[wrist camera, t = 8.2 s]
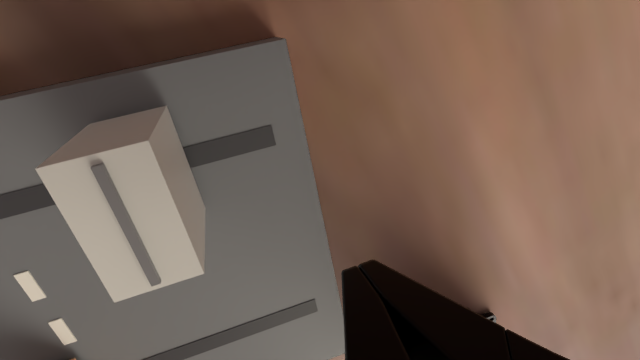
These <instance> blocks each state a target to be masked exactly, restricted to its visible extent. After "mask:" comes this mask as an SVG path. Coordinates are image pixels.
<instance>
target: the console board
mask: <svg viewBox="0 0 640 360" xmlns="http://www.w3.org/2000/svg"><path fill="white" fill-rule="evenodd" d="M163 106H167V108H168V110H169V113H170V116H171V118H172V121H173V124H174V126H175V129H176V132H177V134H178V137H179V140H180V142H181V145H182V147H183V150H184V153H185V155H186V158H187V161H188V163H189V166H190V169H191V171H192V174H193V177H194V179H195V182H196V185H197V187H198V190H199V193H200V195H201V198H202V201H203V203H204V206H205V208H206V209H205V260H204V274H202V275H199V276H196V277H193V278H189V279H186V280H183V281H180V282H177V283H174V284H171V285H168V286H165V287H162V288H158V289H155V290H152V291H149V292H146V293H143V294H140V295H137V296H134V297H131V298H127V299H124V300H121V301H118V302H115V303H114V301H113V300H112V298H111V296H110V295H109V293H108V291H107V290H106V288H105V286H104V285H103V283H102V281H101V280H100V278H99V276H98V274H97V273H96V271H95V269H94V268H93V266H92V264H91V263H90V261H89V259H88V258H87V256H86V254H85V253H84V251H83V249H82V247H81V246H80V244H79V242H78V241H77V239H76V237H75V236H74V234H73V232H72V231H71V229H70V227H69V225H68V224H67V222H66V220H65V219H64V217H63V215H62V214H61V212H60V210H59V209H58V207H57V205H56V204H55V202H54V200H53V198H52V197H51V195H50V193H49V192H48V190H47V188H46V187H45V185H44V183H43V182H42V180H41V178H40V176H39V175H38V173H37V171H36V170H35V168H37V167H38V166H39V165H40V164H41V163H43V162H44V161H45V160H46V159H47V158H49V157H50V156H51V155H52V154H53V153H55V152H56V151H57V150H58V149H60V148H61V147H62V146H63V145H64V144H66V143H67V142H68V141H69V140H70V139H72V138H73V137H74V136H75V135H76V134H78V133H79V132H80V131H81V130H82V129H84V128H85V127H86V126H87V125H89V124H91V123H95V122H99V121H103V120H108V119H112V118H116V117H120V116H124V115H129V114H133V113H137V112H141V111H146V110H150V109H154V108H158V107H163ZM344 353H345V342H344V319H343V311H342V307H341V302H340V297H339V292H338V287H337V283H336V278H335V273H334V268H333V263H332V259H331V254H330V249H329V244H328V239H327V235H326V230H325V225H324V220H323V215H322V211H321V206H320V201H319V196H318V192H317V187H316V182H315V177H314V172H313V168H312V163H311V158H310V153H309V148H308V144H307V139H306V134H305V129H304V124H303V120H302V115H301V110H300V105H299V100H298V96H297V91H296V86H295V81H294V76H293V72H292V67H291V62H290V57H289V52H288V48H287V43H286V39H284V38H279V37H273V38H269V39H264V40H259V41H255V42H250V43H246V44H241V45H236V46H232V47H227V48H222V49H218V50H213V51H208V52H204V53H199V54H194V55H190V56H185V57H180V58H176V59H171V60H166V61H162V62H157V63H152V64H148V65H143V66H138V67H134V68H129V69H124V70H120V71H115V72H110V73H106V74H101V75H96V76H92V77H87V78H83V79H78V80H73V81H69V82H64V83H59V84H55V85H50V86H45V87H41V88H36V89H31V90H27V91H22V92H17V93H13V94H8V95H3V96H0V360H70V359H73V358H76V360H329V359H332V358H334V357H337V356H339V355H342V354H344Z"/></svg>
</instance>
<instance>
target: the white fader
mask: <svg viewBox="0 0 640 360" xmlns="http://www.w3.org/2000/svg"><path fill="white" fill-rule="evenodd" d="M35 170H36V171H37V173H38V175H39V176H40V178H41V180H42V182H43V183H44V185H45V187H46V188H47V190H48V192H49V193H50V195H51V197H52V198H53V200H54V202H55V204H56V205H57V207H58V209H59V210H60V212H61V214H62V215H63V217H64V219H65V220H66V222H67V224H68V225H69V227H70V229H71V231H72V232H73V234H74V236H75V237H76V239H77V241H78V242H79V244H80V246H81V247H82V249H83V251H84V253H85V254H86V256H87V258H88V259H89V261H90V263H91V264H92V266H93V268H94V269H95V271H96V273H97V274H98V276H99V278H100V280H101V281H102V283H103V285H104V286H105V288H106V290H107V291H108V293H109V295H110V296H111V298H112V300H113V301H114V303H115V302H118V301H121V300H124V299H127V298H131V297H134V296H137V295H140V294H143V293H146V292H149V291H152V290H155V289H158V288H162V287H165V286H168V285H171V284H174V283H177V282H180V281H183V280H186V279H189V278H193V277H196V276H199V275H202V274H204V260H205V209H206V208H205V206H204V203H203V201H202V198H201V195H200V193H199V190H198V187H197V185H196V182H195V179H194V177H193V174H192V171H191V169H190V166H189V163H188V161H187V158H186V155H185V153H184V150H183V147H182V145H181V142H180V140H179V137H178V134H177V132H176V129H175V126H174V124H173V121H172V118H171V116H170V113H169V110H168V108H167V106H163V107H158V108H154V109H150V110H146V111H141V112H137V113H133V114H129V115H124V116H120V117H116V118H112V119H108V120H103V121H99V122H95V123H91V124H89V125H87V126H86V127H85V128H84V129H82V130H81V131H80V132H79V133H78V134H76V135H75V136H74V137H73V138H72V139H70V140H69V141H68V142H67V143H66V144H64V145H63V146H62V147H61V148H60V149H58V150H57V151H56V152H55V153H53V154H52V155H51V156H50V157H49V158H47V159H46V160H45V161H44V162H43V163H41V164H40V165H39V166H38V167H37V168H35Z"/></svg>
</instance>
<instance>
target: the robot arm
mask: <svg viewBox="0 0 640 360" xmlns="http://www.w3.org/2000/svg"><path fill="white" fill-rule="evenodd" d="M342 296H343V319H344V342H345V360H570V359H567V358H565V357H563V356H561V355H558V354H556V353H554V352H552V351H550V350H548V349H546V348H544V347H542V346H540V345H538V344H536V343H534V342H532V341H530V340H528V339H526V338H524V337H522V336H520V335H518V334H516V333H514V332H512V331H510V330H508V329H507V330H506V331H505V328H504V327H502V326H500V325H498V324H497V323H496V316H495V315H494V314H493V313H492V312H489V313H486V314H483V315H479V314H477V313H475V312H474V311H472V310H470V309H468V308H466V307H464V306H462V305H460V304H458V303H456V302H454V301H452V300H451V299H449V298H447V297H445V296H443V295H441V294H439V293H437V292H435V291H433V290H431V289H429V288H428V287H426V286H424V285H422V284H420V283H418V282H416V281H414V280H412V279H410V278H408V277H406V276H405V275H403V274H401V273H399V272H397V271H395V270H393V269H391V268H389V267H387V266H385V265H383V264H382V263H380V262H378V261H376V260H370V261H367V262H364V263H361V264H359V266H358V267H357V266H353V267H351V268H348V269H345V270H343V271H342Z"/></svg>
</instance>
